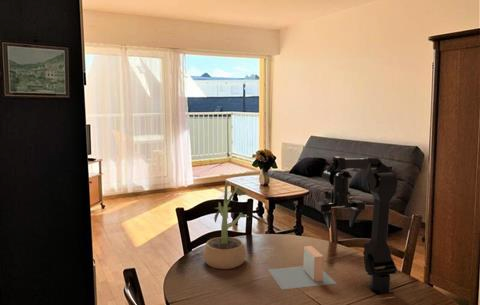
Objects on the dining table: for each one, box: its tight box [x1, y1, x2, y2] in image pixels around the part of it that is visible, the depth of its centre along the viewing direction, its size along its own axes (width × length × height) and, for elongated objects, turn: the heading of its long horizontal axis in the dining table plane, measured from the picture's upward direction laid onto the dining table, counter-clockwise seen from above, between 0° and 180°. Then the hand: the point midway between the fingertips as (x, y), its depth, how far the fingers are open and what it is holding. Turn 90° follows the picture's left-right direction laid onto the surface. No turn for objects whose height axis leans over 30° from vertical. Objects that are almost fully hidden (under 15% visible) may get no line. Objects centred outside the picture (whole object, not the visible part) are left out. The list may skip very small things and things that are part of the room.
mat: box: [267, 265, 338, 290], centre depth 141 cm, size 16×20×1 cm
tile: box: [302, 245, 324, 282], centre depth 141 cm, size 10×3×9 cm, turn 13°
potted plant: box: [202, 182, 250, 270], centre depth 155 cm, size 22×18×30 cm
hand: (339, 227), depth 154 cm, fingers open, 9 cm apart
